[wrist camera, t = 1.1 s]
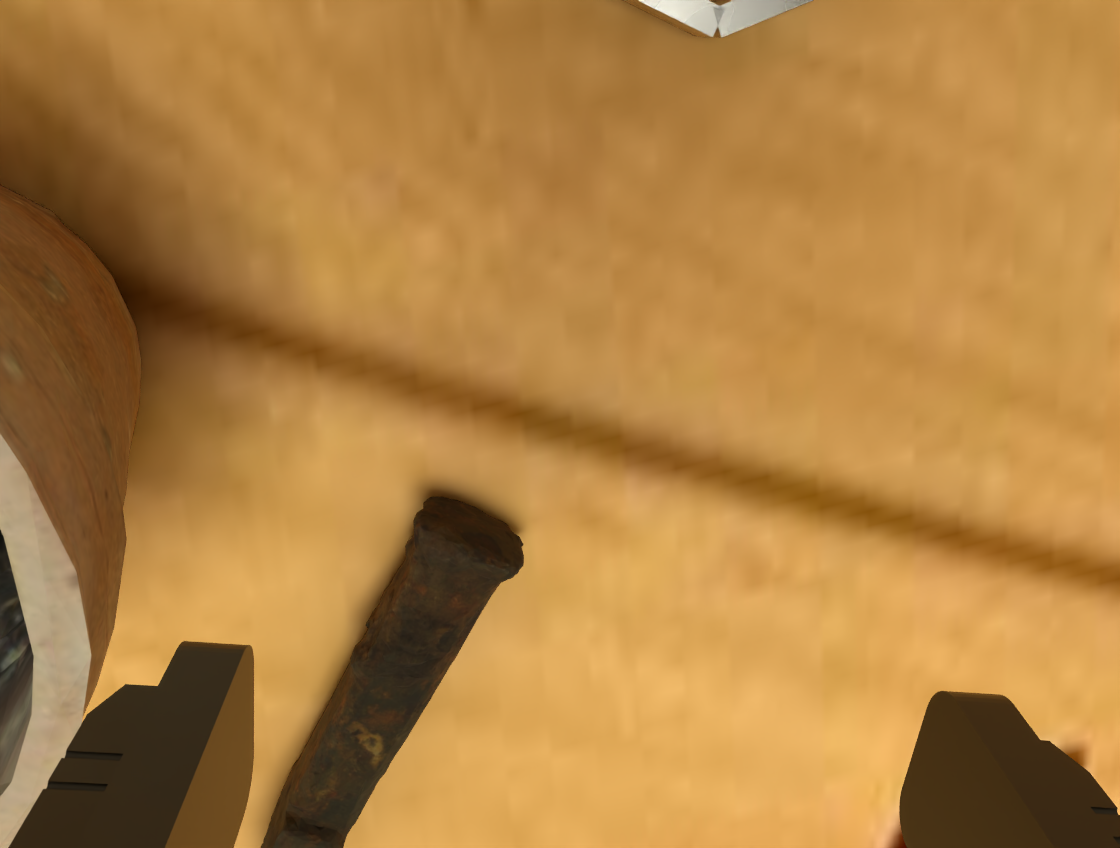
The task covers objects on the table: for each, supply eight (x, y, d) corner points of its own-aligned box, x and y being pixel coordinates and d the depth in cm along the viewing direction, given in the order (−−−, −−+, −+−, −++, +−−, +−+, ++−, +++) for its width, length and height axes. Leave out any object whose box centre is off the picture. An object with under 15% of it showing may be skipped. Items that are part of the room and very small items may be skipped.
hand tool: (429, 473, 35) (420, 536, 31) (526, 522, 36) (531, 590, 32) (210, 837, 41) (176, 933, 36) (299, 870, 42) (277, 968, 37)
